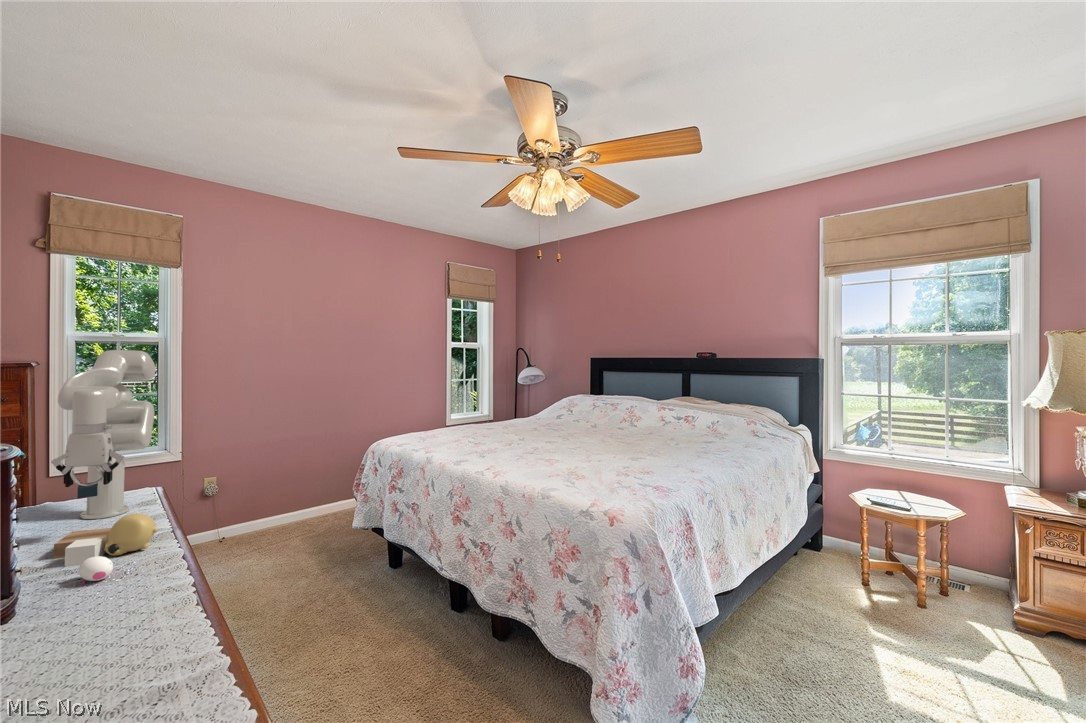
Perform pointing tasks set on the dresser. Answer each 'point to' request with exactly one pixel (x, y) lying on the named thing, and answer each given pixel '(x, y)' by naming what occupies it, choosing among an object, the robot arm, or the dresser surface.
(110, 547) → the beige rounded piece
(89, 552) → the off-white block
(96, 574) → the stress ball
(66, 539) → the walnut block
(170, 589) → the dresser surface
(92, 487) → the watch
